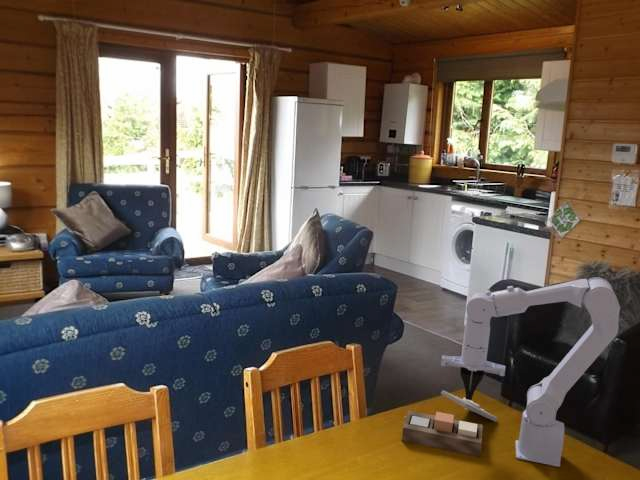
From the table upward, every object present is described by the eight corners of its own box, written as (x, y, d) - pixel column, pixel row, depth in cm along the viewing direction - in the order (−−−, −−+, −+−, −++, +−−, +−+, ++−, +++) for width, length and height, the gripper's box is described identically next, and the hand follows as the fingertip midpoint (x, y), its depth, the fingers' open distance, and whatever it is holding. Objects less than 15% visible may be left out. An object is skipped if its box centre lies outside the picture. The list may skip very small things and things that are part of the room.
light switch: (499, 415, 155) (468, 400, 147) (490, 436, 154) (458, 422, 146) (474, 401, 162) (443, 386, 153) (465, 421, 161) (433, 407, 153)
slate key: (428, 430, 147) (429, 419, 147) (426, 438, 143) (427, 427, 143) (411, 426, 148) (412, 415, 148) (408, 435, 144) (410, 423, 144)
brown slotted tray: (480, 438, 146) (482, 424, 146) (479, 457, 138) (481, 443, 137) (407, 423, 151) (408, 410, 150) (401, 440, 142) (403, 427, 142)
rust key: (452, 426, 145) (454, 415, 145) (451, 434, 141) (452, 423, 141) (435, 423, 146) (436, 411, 146) (433, 431, 142) (434, 419, 142)
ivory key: (475, 435, 144) (477, 424, 143) (475, 444, 140) (476, 432, 139) (458, 431, 145) (459, 420, 144) (456, 440, 141) (458, 428, 140)
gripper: (442, 344, 139) (436, 399, 142) (507, 355, 135) (500, 411, 138) (445, 335, 146) (439, 387, 149) (507, 344, 142) (500, 398, 145)
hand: (468, 398), depth 144 cm, fingers closed
